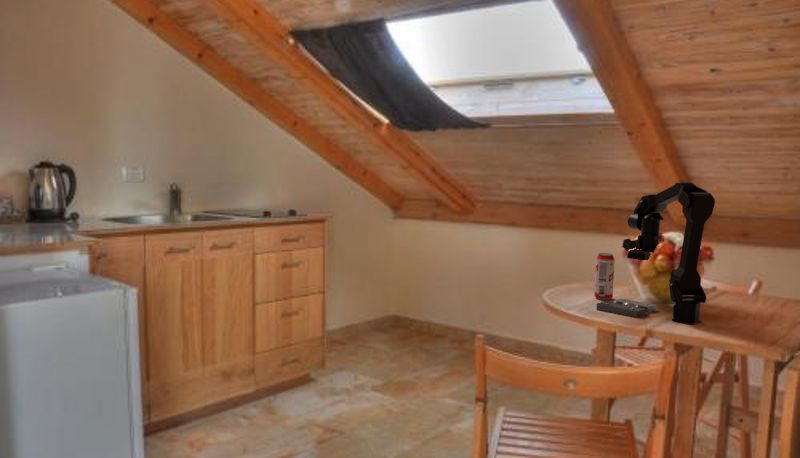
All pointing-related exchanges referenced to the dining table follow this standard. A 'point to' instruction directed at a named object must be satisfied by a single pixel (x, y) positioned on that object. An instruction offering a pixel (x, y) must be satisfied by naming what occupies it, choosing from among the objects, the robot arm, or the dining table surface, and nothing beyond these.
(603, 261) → the beer can
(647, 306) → the free leaf
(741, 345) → the dining table surface
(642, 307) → the fixed leaf
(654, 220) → the robot arm
